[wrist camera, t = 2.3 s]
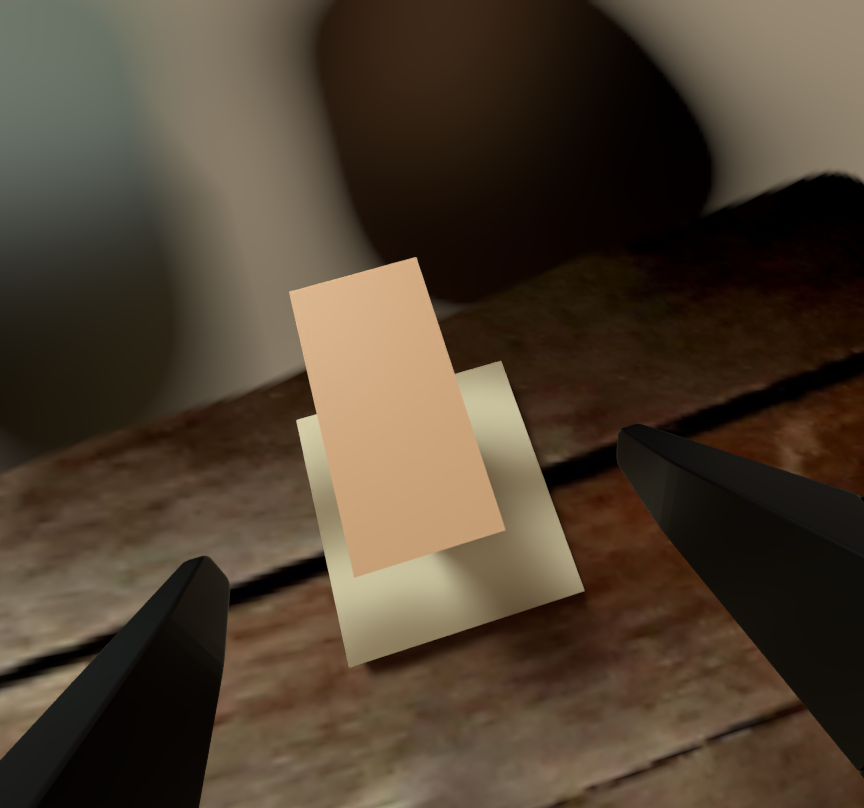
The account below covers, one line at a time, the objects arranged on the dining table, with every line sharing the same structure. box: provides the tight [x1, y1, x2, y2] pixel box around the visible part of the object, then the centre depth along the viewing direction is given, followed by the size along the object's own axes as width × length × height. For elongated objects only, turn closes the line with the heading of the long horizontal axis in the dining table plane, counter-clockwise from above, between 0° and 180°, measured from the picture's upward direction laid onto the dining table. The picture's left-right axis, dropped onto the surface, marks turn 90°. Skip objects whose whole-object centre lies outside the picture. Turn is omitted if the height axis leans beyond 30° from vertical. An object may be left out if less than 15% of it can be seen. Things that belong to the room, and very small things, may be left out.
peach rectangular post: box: [289, 257, 506, 578], centre depth 9 cm, size 5×2×6 cm, turn 16°
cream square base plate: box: [296, 361, 584, 668], centre depth 15 cm, size 10×10×6 cm
